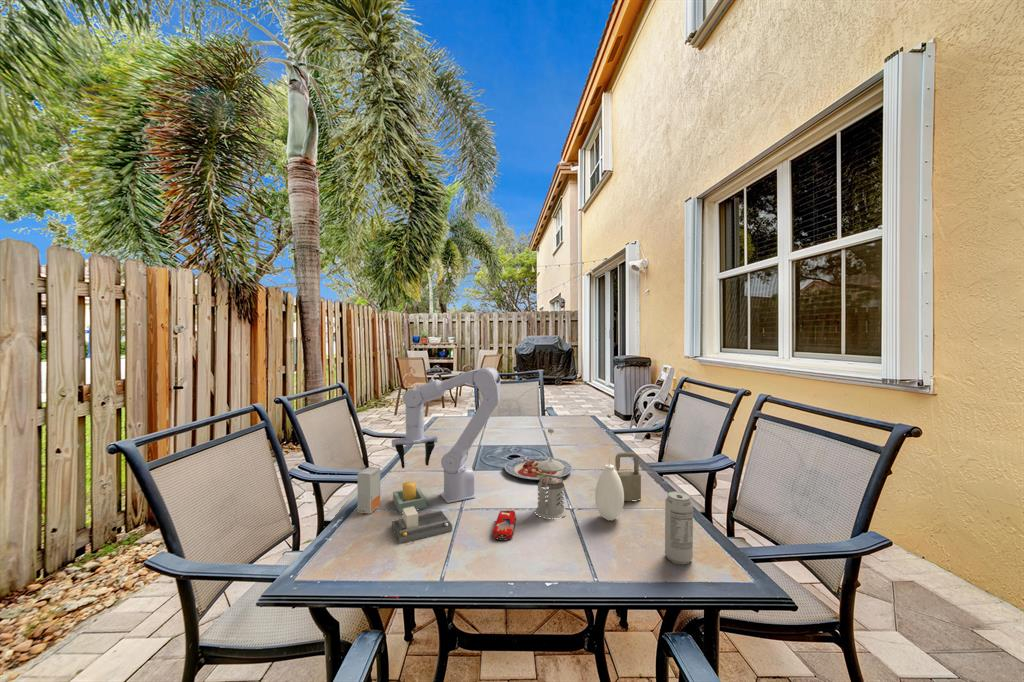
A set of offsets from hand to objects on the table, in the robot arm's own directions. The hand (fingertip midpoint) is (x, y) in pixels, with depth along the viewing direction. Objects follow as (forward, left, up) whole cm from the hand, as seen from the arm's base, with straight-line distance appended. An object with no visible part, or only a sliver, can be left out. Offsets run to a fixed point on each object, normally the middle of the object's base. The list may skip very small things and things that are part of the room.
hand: (415, 465), depth 132 cm
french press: (-32, +32, -10) cm, 46 cm away
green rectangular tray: (+4, +7, -9) cm, 12 cm away
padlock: (-59, +35, -10) cm, 69 cm away
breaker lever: (+7, +24, -8) cm, 26 cm away
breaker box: (+4, +24, -9) cm, 26 cm away
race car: (-16, +34, -10) cm, 39 cm away
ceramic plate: (-47, 0, -10) cm, 48 cm away
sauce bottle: (-45, +43, -10) cm, 63 cm away
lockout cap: (+3, +7, -9) cm, 12 cm away
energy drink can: (-46, +66, -10) cm, 81 cm away
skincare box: (+15, +5, -10) cm, 18 cm away
